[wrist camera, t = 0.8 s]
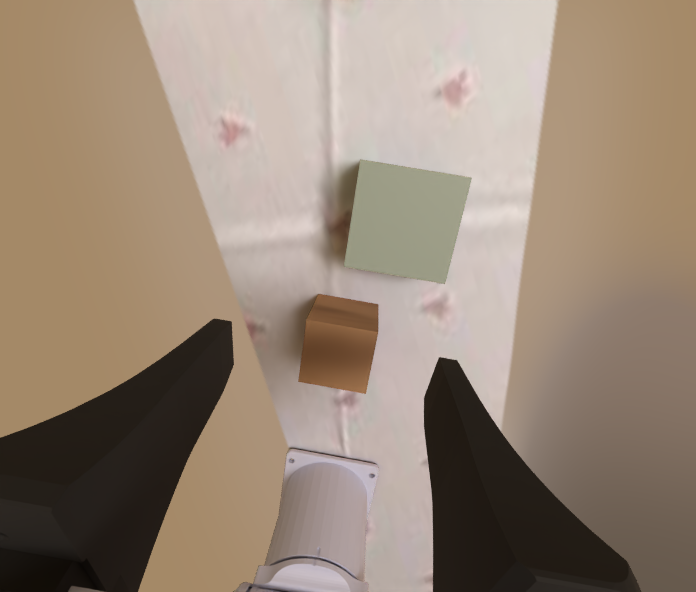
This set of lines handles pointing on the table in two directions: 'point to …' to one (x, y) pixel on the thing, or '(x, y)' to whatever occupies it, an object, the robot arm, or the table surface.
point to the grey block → (405, 221)
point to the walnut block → (339, 343)
